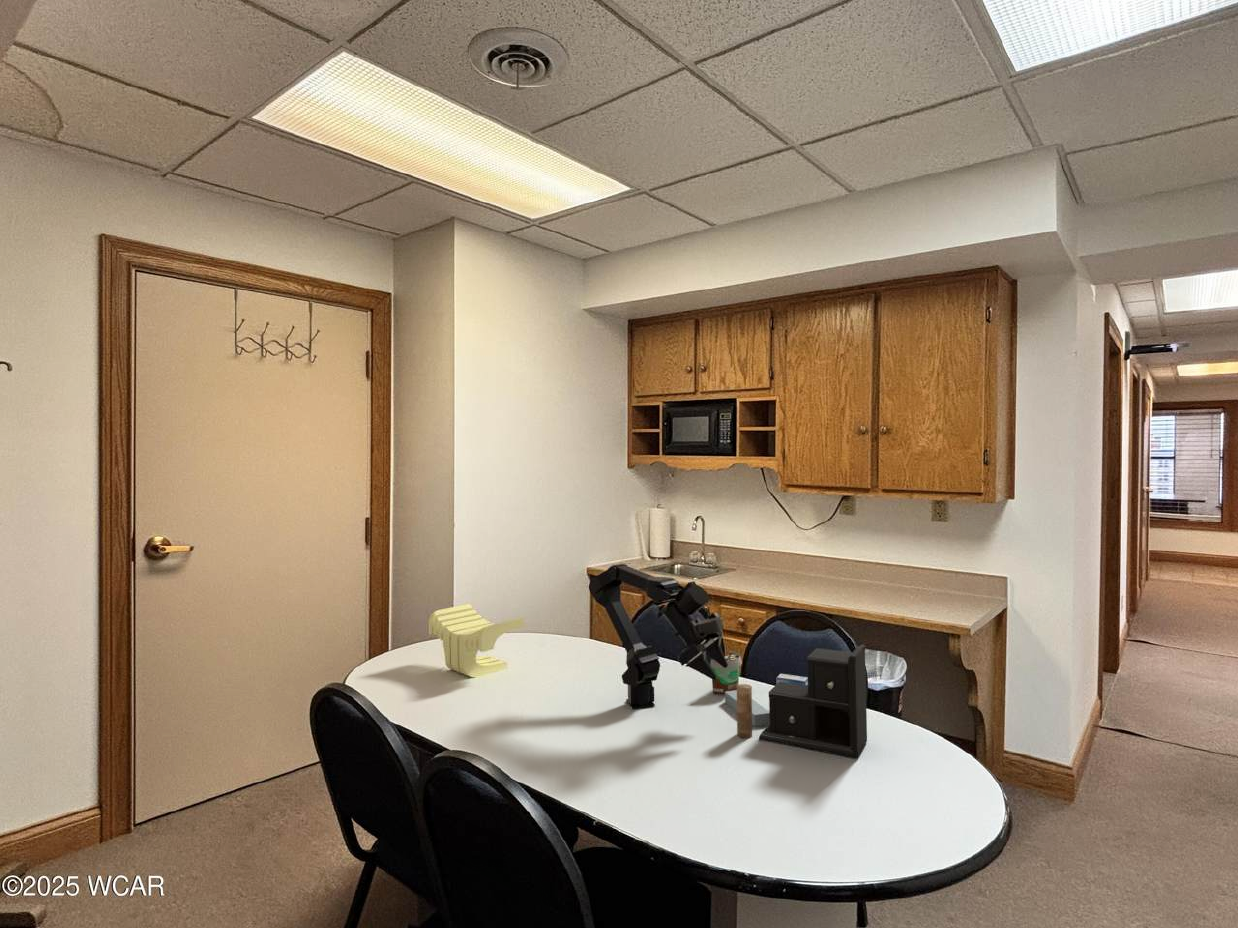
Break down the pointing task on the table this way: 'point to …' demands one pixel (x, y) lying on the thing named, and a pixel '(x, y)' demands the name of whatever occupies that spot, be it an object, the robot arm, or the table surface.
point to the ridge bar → (758, 712)
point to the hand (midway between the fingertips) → (721, 672)
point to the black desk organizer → (823, 705)
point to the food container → (726, 674)
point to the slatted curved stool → (469, 639)
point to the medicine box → (792, 679)
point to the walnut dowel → (744, 711)
